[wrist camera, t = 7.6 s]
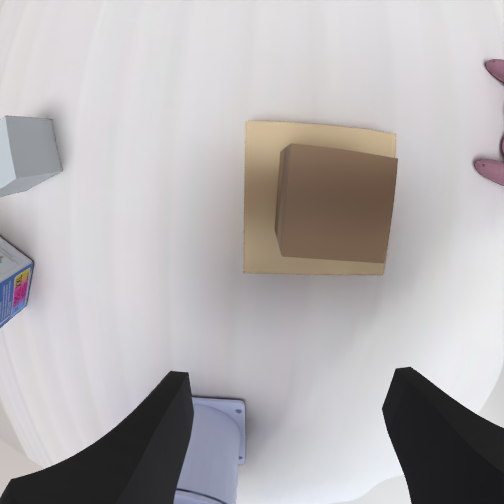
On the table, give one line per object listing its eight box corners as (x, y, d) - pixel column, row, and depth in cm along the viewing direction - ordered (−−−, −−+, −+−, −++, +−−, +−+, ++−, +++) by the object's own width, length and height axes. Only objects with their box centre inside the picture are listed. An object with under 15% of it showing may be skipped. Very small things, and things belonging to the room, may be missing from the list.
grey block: (62, 171, 18) (16, 178, 13) (26, 190, 18) (-19, 202, 13) (51, 119, 17) (5, 115, 12) (16, 142, 17) (-30, 144, 12)
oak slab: (367, 258, 20) (383, 275, 17) (245, 256, 20) (243, 273, 17) (376, 136, 17) (396, 133, 14) (247, 127, 17) (245, 121, 14)
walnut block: (348, 235, 16) (384, 263, 11) (274, 229, 16) (281, 256, 11) (356, 160, 15) (397, 158, 10) (280, 151, 15) (291, 143, 10)
